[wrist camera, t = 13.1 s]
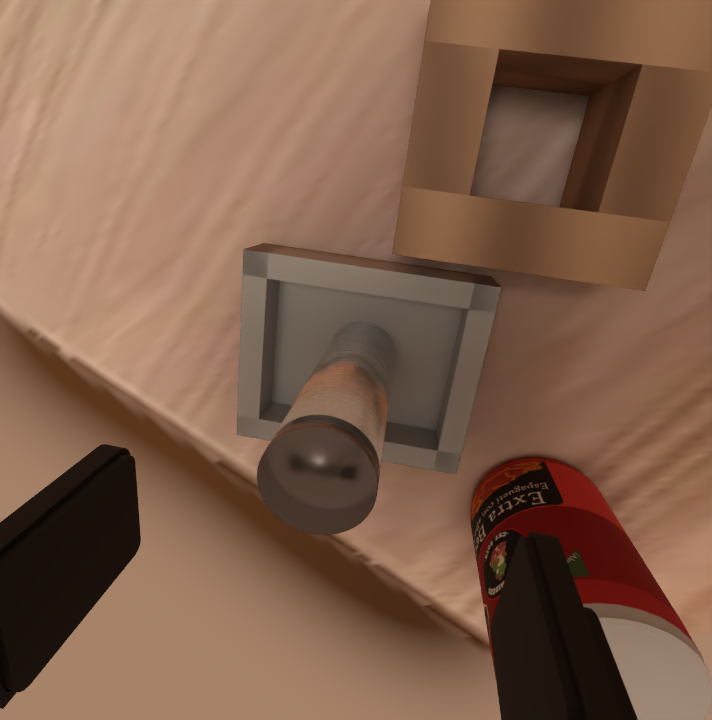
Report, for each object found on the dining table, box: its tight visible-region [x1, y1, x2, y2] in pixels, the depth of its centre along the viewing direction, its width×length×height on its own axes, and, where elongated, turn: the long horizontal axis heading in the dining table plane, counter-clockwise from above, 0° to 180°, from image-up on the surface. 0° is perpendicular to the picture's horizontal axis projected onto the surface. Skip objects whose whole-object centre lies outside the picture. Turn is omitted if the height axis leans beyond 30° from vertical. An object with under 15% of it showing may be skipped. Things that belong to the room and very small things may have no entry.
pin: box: [257, 321, 396, 535], centre depth 19 cm, size 4×4×12 cm
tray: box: [237, 243, 501, 474], centre depth 24 cm, size 12×10×3 cm
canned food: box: [470, 458, 712, 720], centre depth 22 cm, size 8×8×11 cm
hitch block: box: [392, 0, 712, 291], centre depth 19 cm, size 10×10×5 cm
